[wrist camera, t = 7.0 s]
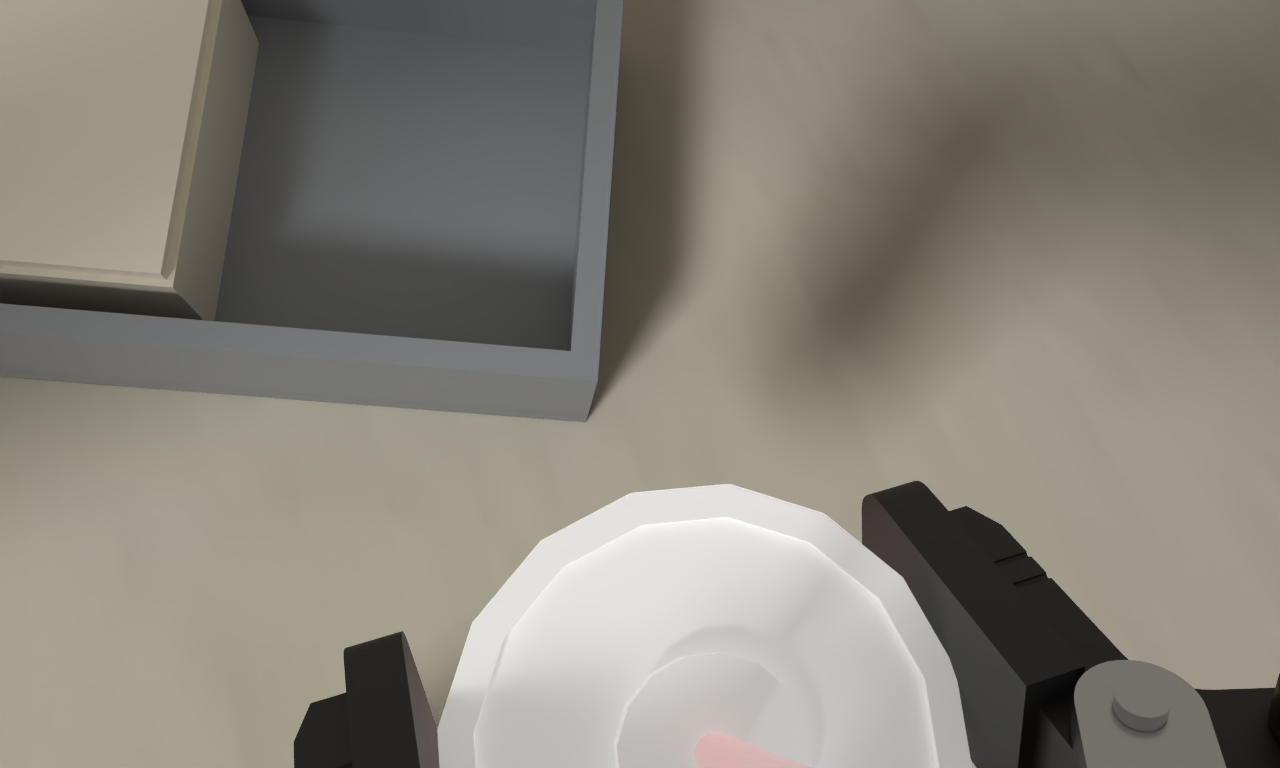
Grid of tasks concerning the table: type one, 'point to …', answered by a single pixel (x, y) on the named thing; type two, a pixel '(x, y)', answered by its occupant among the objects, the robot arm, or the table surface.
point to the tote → (394, 219)
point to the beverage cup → (703, 648)
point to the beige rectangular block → (120, 151)
